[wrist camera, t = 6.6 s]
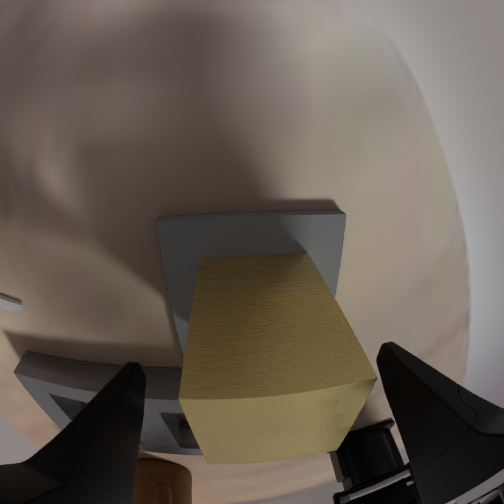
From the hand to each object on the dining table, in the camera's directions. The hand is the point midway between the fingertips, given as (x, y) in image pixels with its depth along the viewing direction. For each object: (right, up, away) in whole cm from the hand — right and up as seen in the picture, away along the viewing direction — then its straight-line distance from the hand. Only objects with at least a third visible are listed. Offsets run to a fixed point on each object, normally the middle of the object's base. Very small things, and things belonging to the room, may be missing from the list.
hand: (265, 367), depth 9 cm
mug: (-11, -21, +14) cm, 28 cm away
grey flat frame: (-8, -7, +8) cm, 14 cm away
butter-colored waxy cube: (0, +2, +4) cm, 4 cm away
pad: (0, +2, +4) cm, 5 cm away
